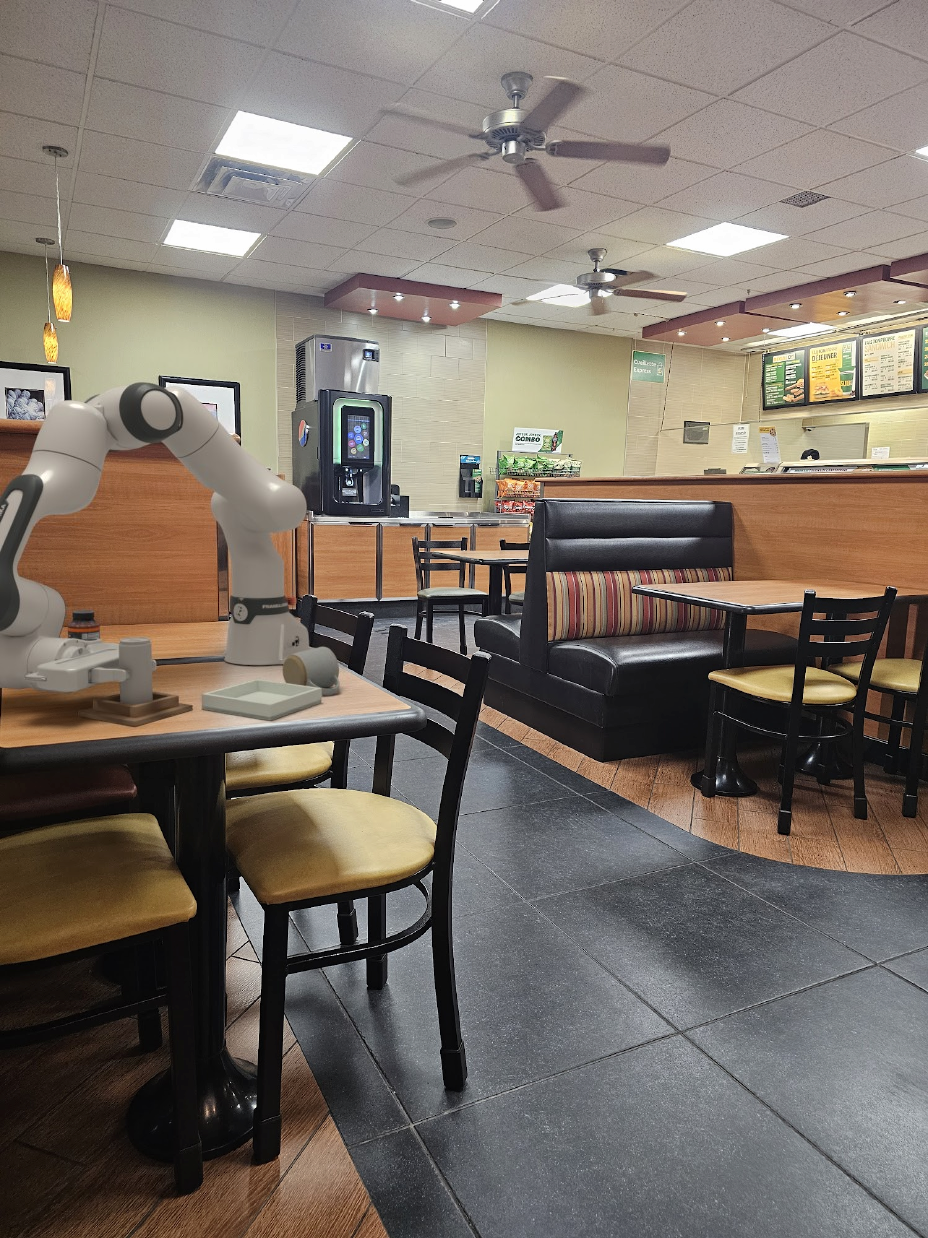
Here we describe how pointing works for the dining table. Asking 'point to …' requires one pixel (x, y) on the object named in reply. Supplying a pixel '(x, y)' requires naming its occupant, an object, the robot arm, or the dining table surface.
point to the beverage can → (136, 670)
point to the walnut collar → (135, 709)
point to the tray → (262, 699)
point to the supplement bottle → (83, 625)
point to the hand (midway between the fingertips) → (140, 670)
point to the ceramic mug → (313, 669)
